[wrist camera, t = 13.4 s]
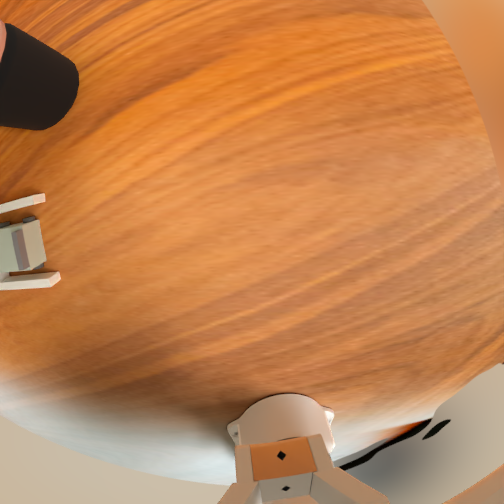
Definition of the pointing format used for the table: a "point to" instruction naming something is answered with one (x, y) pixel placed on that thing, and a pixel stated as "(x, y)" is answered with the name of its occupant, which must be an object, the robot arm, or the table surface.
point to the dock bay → (31, 280)
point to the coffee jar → (33, 81)
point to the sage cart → (21, 246)
